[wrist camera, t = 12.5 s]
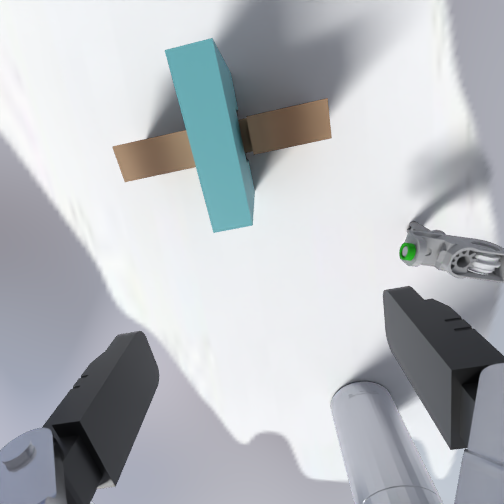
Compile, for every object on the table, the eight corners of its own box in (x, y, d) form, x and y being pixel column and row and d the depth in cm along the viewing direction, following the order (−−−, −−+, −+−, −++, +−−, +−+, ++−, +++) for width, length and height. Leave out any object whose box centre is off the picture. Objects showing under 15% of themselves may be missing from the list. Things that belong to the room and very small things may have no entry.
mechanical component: (374, 209, 36) (414, 239, 26) (460, 222, 36) (529, 255, 27) (367, 234, 37) (403, 270, 27) (450, 245, 37) (514, 285, 28)
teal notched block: (201, 79, 31) (164, 50, 19) (230, 72, 31) (212, 38, 19) (229, 196, 35) (213, 232, 23) (254, 190, 35) (252, 225, 23)
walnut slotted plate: (311, 104, 32) (327, 98, 24) (315, 135, 33) (331, 138, 25) (144, 141, 33) (112, 146, 26) (153, 169, 34) (124, 182, 27)
